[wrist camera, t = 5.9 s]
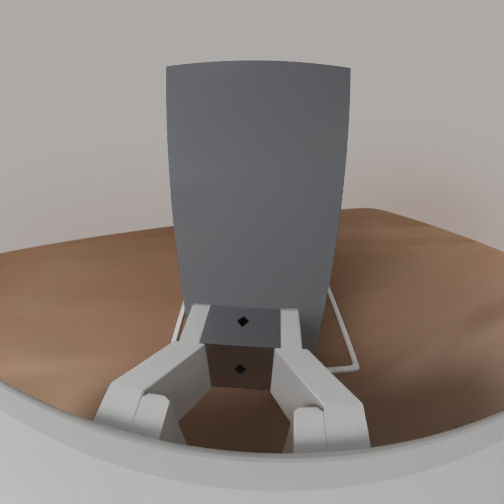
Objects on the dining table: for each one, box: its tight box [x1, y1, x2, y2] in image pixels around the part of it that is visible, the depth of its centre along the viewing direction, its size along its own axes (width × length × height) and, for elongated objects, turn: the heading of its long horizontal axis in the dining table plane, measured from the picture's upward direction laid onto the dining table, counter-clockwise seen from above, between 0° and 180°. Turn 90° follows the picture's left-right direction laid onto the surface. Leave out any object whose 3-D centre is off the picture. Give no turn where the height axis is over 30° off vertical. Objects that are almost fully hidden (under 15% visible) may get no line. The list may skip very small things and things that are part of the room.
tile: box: [166, 61, 350, 355], centre depth 12 cm, size 6×2×14 cm, turn 86°
